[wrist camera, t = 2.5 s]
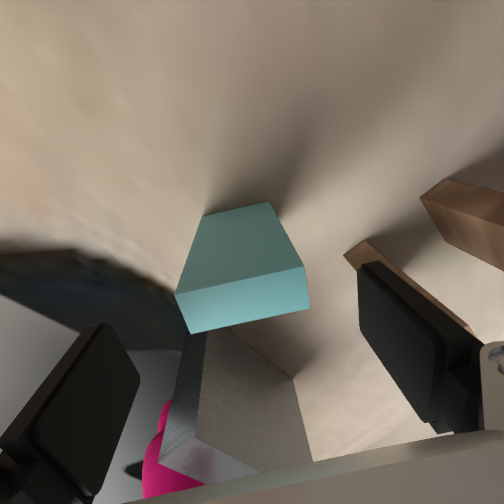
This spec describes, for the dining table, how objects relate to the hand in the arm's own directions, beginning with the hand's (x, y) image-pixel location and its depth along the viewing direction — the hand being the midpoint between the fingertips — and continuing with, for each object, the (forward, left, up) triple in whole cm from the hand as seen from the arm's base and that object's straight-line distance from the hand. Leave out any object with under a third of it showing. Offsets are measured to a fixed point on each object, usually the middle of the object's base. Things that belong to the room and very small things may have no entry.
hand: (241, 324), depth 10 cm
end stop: (+13, -2, -11) cm, 17 cm away
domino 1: (-1, 0, -11) cm, 11 cm away
